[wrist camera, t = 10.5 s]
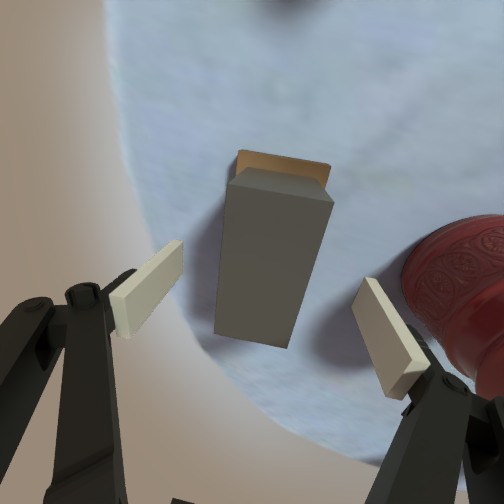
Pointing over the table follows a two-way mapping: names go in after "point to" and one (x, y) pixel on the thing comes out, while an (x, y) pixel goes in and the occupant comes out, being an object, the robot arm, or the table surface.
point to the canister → (463, 296)
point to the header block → (283, 165)
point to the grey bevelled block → (268, 253)
